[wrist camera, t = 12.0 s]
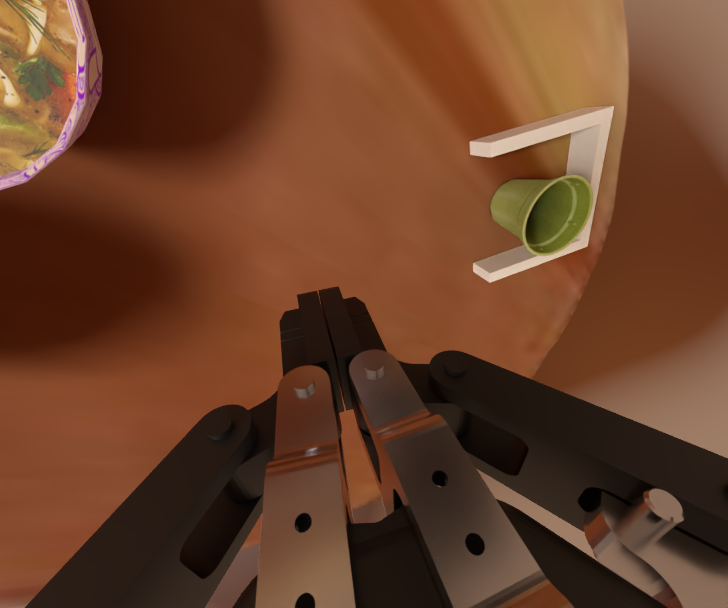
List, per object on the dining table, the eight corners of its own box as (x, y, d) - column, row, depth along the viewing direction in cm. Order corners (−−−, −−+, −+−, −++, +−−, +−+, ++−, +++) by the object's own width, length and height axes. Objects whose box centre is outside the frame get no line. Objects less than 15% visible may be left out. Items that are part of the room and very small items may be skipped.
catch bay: (469, 141, 38) (490, 142, 34) (584, 107, 40) (614, 105, 37) (473, 271, 47) (489, 282, 44) (565, 238, 50) (587, 246, 46)
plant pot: (516, 241, 47) (563, 262, 40) (467, 227, 43) (510, 248, 36) (548, 177, 43) (607, 188, 36) (498, 156, 40) (553, 163, 33)
